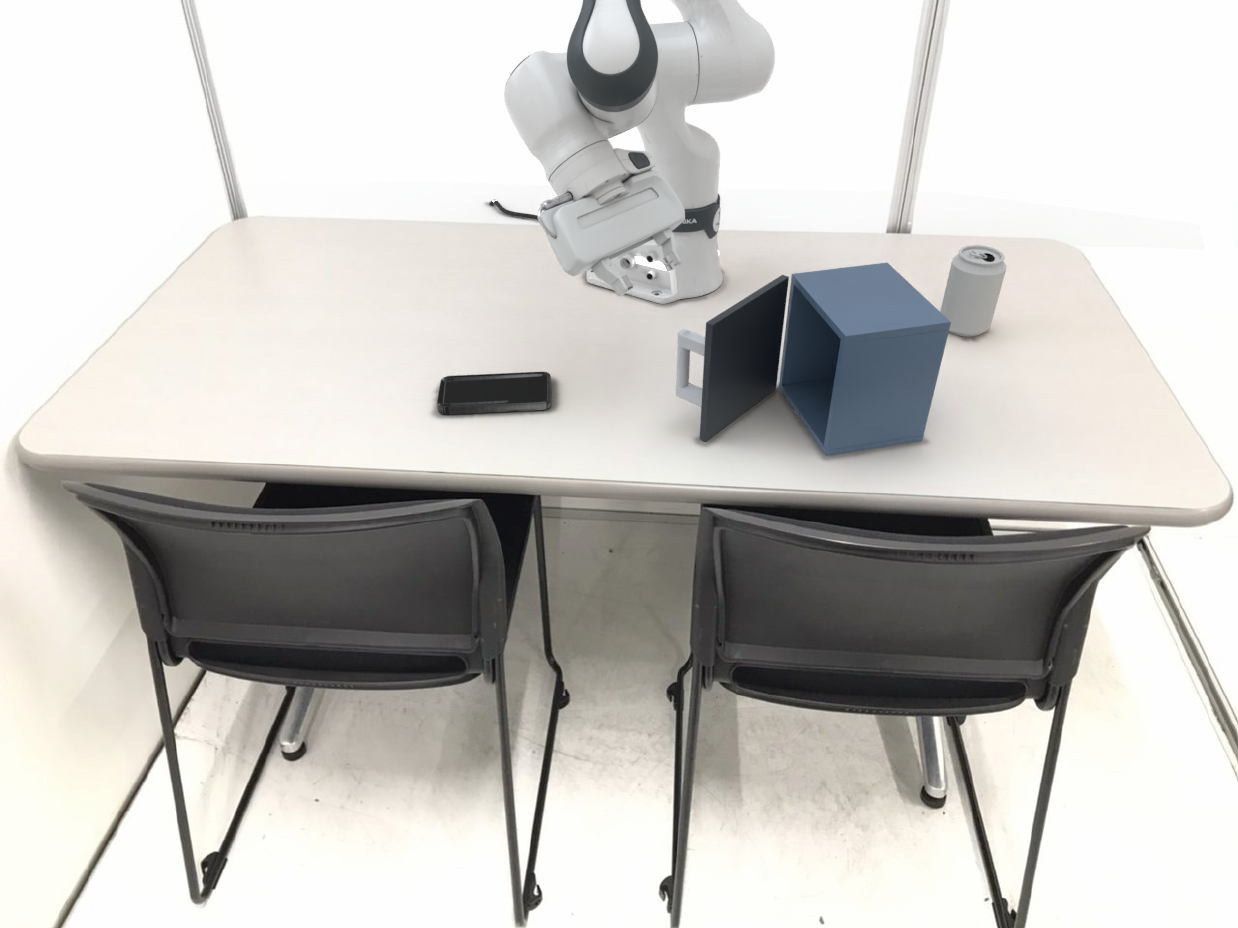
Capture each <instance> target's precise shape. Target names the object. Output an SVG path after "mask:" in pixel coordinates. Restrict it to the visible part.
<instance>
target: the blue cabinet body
mask: <svg viewBox="0 0 1238 928" xmlns="http://www.w3.org/2000/svg"><path fill="white" fill-rule="evenodd" d="M950 325H951V321H949V320H948V319H947V318H946V317H945V316H944V315H943V314H942V313H941V312H940V310H939V309H938V308H937V307H936V306H935V305H933V304H932V303H931V301H929V300H928V299H927V298H926V297H925V296H924V295H923V294H922V293H921V292H920V291H919V290H918V289H916V287H915V286H913V285H912V284H911V283H910V282H909V281H908V280H906V278H905V277H904V276H902V274H900V273H899V272H898V271H897V270H896V269H895V268H894V267H893V266H892V265H890V263H888V262H878V263H872V264H864V265H862V264H861V265H853V266H846V267H838V268H829V269H821V270H814V271H813V270H812V271H804V272H796V273H791V278H790V286H789V296H788V306H787V313H786V321H785V329H784V337H783V347H782V355H781V364H780V372H779V381H778V389H779V390H780V393H782V395H783V396H784V398H785V399H786V400H787V402H788V403H789V405H790V406H791V408H792V410H793V411H794V412H795V414H796V415H797V416H798V418H799V419H800V421H801V423H802V424H803V425H804V427H805V429H806V430H807V431H808V432H809V434H810V435H811V437H812V438H813V440H814V441H815V443H816V444H817V446H818V447H819V448H820V450H821V451H822V453H823V454H824V456H825V457H830V456H837V455H842V454H850V453H856V452H862V451H868V450H875V449H881V448H887V447H894V446H899V445H905V444H907V445H908V444H912V443H918V442H923V440H924V435H925V431H926V427H927V423H928V418H929V414H930V410H931V406H932V402H933V398H934V394H935V390H936V386H937V382H938V377H939V374H940V369H941V365H942V361H943V358H944V357H943V356H944V353H945V349H946V345H947V341H948V337H949V333H950V332H949V329H950Z"/></svg>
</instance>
